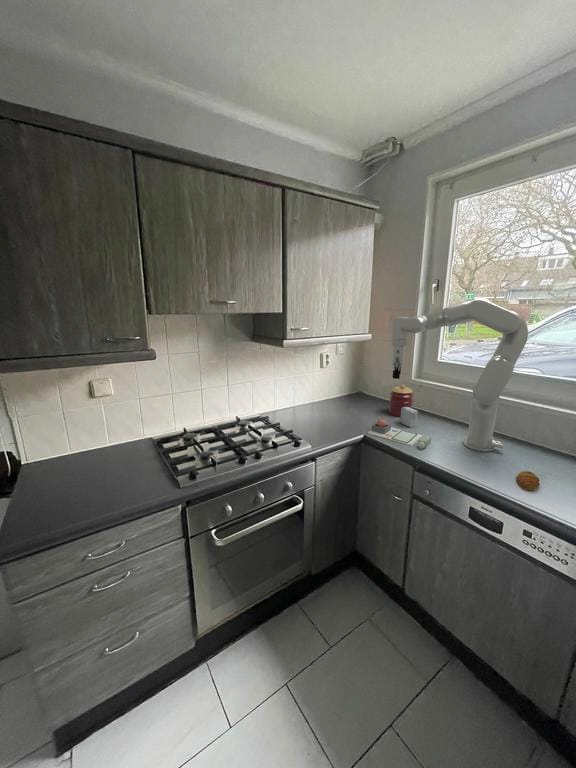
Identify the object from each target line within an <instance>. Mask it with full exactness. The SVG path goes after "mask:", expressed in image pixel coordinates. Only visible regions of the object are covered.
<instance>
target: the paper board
mask: <svg viewBox="0 0 576 768" xmlns="http://www.w3.org/2000/svg"><path fill="white" fill-rule="evenodd" d="M367 433H368V434H367V435H370V436H374V437H378V438H381V439H386V440H387V441H388V440H389V441H392V442H396V443H399V444H402V445H407V446H410V447H413V445H414V444H416V442H417V443H418V442H419V439H420V438H421V437H422V436H423V435H422V434H418V433H414V432H411V431H407V430H403V429H399V428H395V427H392V424H389V423H386V427H385V428H383V427H379V426H377V422H375V423H373V424H372V425H371V430H369V431H367Z"/></svg>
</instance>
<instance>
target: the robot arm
mask: <svg viewBox="0 0 576 768" xmlns="http://www.w3.org/2000/svg"><path fill="white" fill-rule="evenodd" d="M473 321H475V322H477V323H479V324H481V325H482V326H484V327H487V328H489V329H490V330H493V331H495V332H497V333H499V334H502V337H501V340H500V341H499V342H498V346H497V347H496V349H495V351H494V352H493V355H492V356H491V358H490V359H488V362H487V363H486V365H485V367H484V368H483V371H482V373H481V374H480V376H479V378H478V380H477V382H476V383H475V385H474V387H473V389H472V398H473V400H472V405H471V412H470V418H469V424H468V425H469V426H468V431H467V437H466V438H464V439H463V440H462V444H463V445H464V446H465V447H467V448H468V449H471V450H473V451H479V452H483V453H484V452H485V453H486V452H487V453H489V452H493V451H494V450H496V449H495V448H498V449H504V444H503V443H502V442H501V441H496V440H495V436H494V432H495V431H494V430H495V423H496V420H497V414H498V408H499V401H500V398H501V396H502V395H501V394H502V393H503V392H504V389H505V388H506V387H507V384H508V383H509V381H510V379H511V378H512V376H513V373H514V370H515V365H516V363H517V361H518V359H519V358H520V356H521V354H522V352H523V351H524V348H525V346H526V344H527V341H528V338H529V329H528V325H527V323H526V321H525V319H524V318H523V317H522V316H521V315H520V314H519V313H518V312H516V311H513V310H509V309H506V308H504V307H501V306H500V305H498V304H495V303H493V302H491V301H490V300H489V299H486V298H475V299H473V300H469V301H466V302H463V303H458V304H455V305H454V304H453V305H450V306H447V307H445V308H443V309H441V310H438V311H434V312H431V313H426V314H424V315H418V316H412V317H408V316H394V317H393V319H392V325H391V327H392V328H391V339H390V345H391V346H392V347H393V348H392V366H393V371H392V379H397V380H400V376H401V372H402V371H401V370H402V367H403V366H404V364H405V363H404V361H405V351H406V350H405V349H406V347H407V346H408V341H409V340H408V339H409V333H410V334H419V333H422V332H426V331H430V330H433V329H438V328H442V327H453V326H457V325H461V324H464V323H465V324H466V323H469V322H473ZM493 436H494V437H493Z"/></svg>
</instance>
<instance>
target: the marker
mask: <svg viewBox="0 0 576 768" xmlns="http://www.w3.org/2000/svg"><path fill="white" fill-rule="evenodd" d="M417 443H418V444H417V447H418V449H421V450H422V449H427V448H428V447H429V446H430V445H431V444H432V436H429V435H426V434H424V435H422V437H421V438H420V439H419V440H418V441H417Z"/></svg>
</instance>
